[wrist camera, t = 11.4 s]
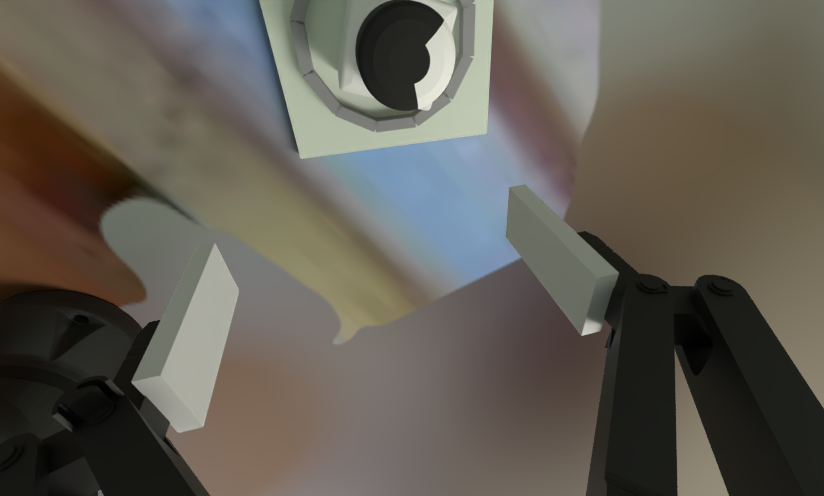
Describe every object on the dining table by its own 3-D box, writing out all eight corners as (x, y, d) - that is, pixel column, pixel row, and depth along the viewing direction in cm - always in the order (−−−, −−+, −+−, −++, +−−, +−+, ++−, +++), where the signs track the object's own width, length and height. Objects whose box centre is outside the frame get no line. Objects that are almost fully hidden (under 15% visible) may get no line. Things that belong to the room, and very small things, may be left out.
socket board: (301, 155, 37) (300, 163, 35) (234, -106, 25) (226, -113, 24) (483, 130, 39) (490, 137, 37) (495, -121, 28) (506, -128, 26)
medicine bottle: (336, 72, 32) (339, 109, 23) (350, -26, 28) (361, -32, 19) (413, 91, 34) (446, 132, 25) (435, 3, 30) (485, 10, 21)
